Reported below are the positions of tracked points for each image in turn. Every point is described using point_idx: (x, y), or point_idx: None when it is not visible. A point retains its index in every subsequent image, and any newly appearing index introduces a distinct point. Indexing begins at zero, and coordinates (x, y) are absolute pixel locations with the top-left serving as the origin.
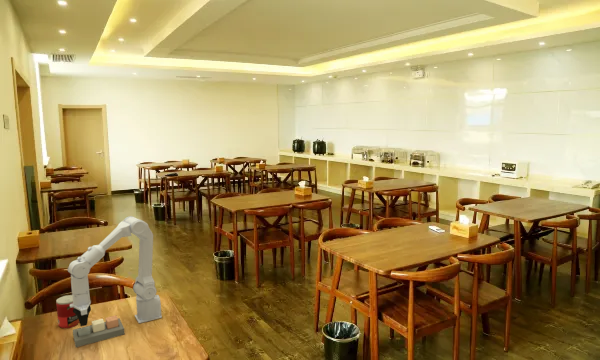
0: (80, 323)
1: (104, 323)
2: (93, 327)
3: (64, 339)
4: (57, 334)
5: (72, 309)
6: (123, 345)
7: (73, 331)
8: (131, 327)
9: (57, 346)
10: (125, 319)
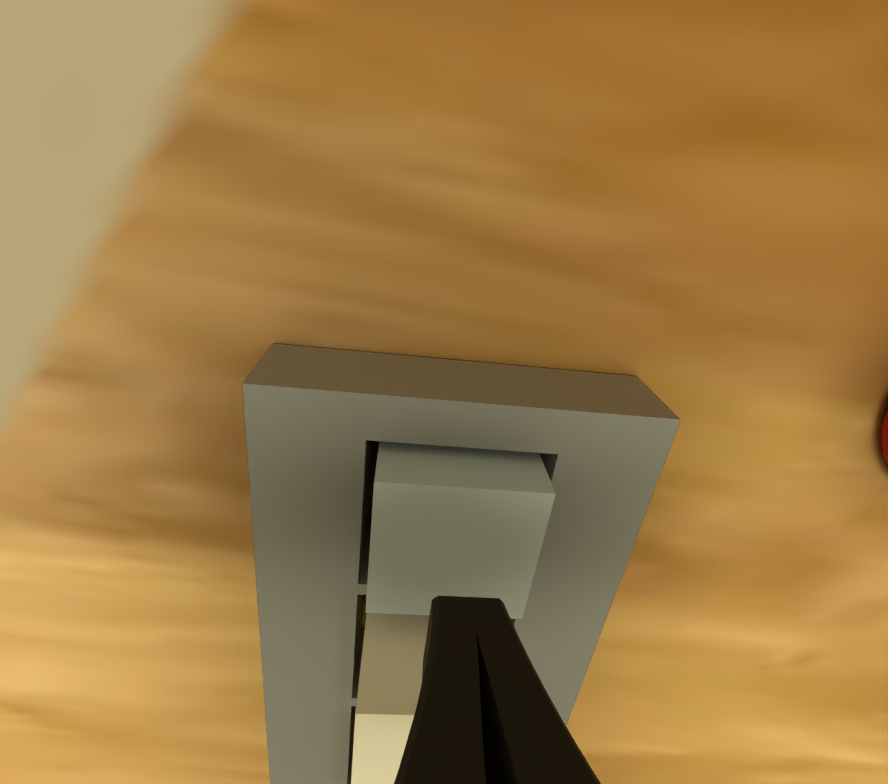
0: (429, 656)
1: None
2: (359, 679)
3: (625, 261)
4: (872, 204)
5: None
6: (67, 694)
7: (610, 419)
8: None
9: (477, 125)
10: None
